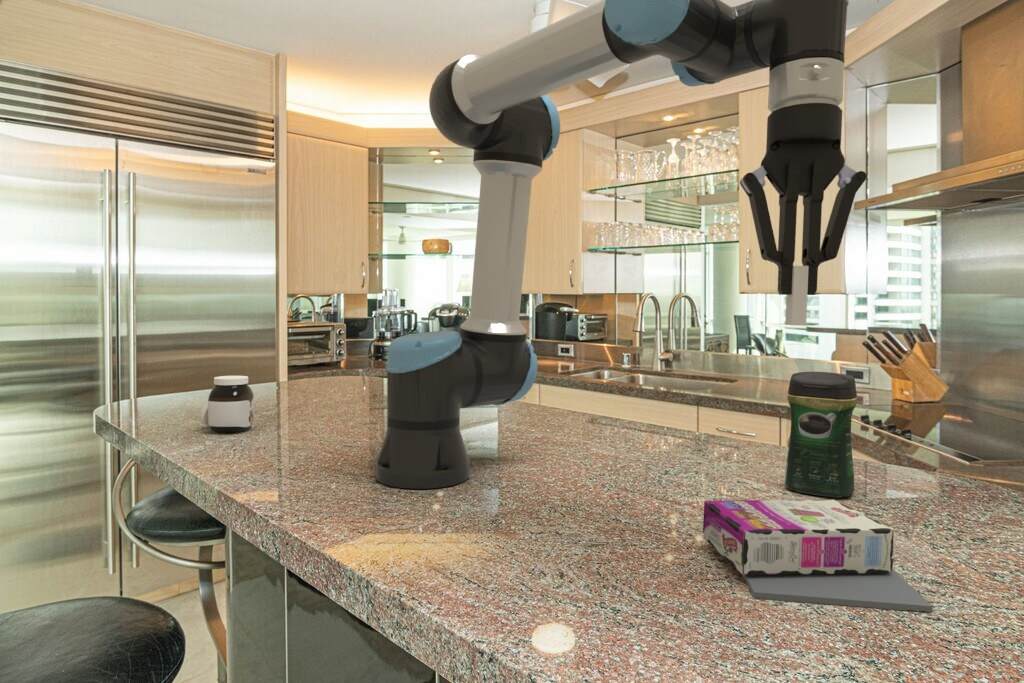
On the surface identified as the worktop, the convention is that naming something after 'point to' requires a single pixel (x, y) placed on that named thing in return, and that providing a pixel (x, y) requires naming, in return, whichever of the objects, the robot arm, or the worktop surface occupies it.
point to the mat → (840, 590)
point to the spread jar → (229, 406)
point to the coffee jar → (821, 434)
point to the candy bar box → (797, 537)
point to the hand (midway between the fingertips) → (795, 324)
